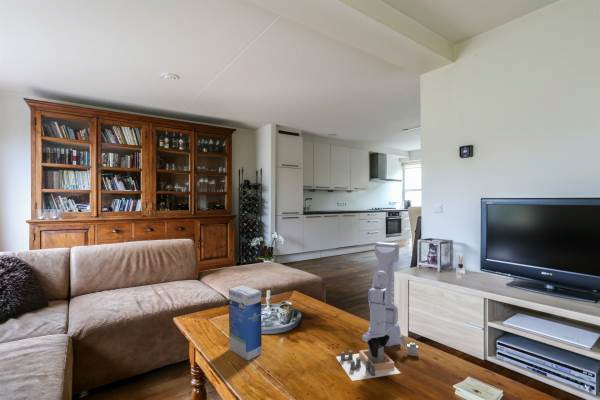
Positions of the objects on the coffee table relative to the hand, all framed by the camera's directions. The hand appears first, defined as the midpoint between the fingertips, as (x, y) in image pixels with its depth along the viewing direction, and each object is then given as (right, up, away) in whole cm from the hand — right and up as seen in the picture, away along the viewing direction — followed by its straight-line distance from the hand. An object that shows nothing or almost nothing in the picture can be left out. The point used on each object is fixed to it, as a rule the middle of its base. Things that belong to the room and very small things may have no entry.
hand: (377, 355), depth 115 cm
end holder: (0, -3, +1) cm, 3 cm away
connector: (0, -2, +1) cm, 2 cm away
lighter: (+14, -4, +7) cm, 16 cm away
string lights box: (-52, -4, +10) cm, 53 cm away
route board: (-4, -4, -1) cm, 6 cm away
